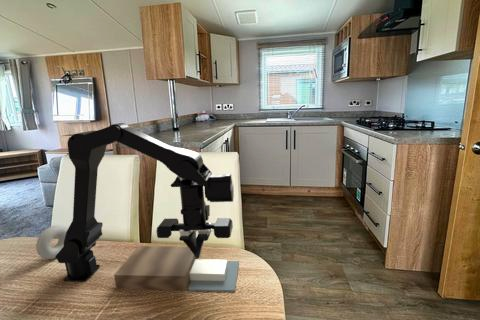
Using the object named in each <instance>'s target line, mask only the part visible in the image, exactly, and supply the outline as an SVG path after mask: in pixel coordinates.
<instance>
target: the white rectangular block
mask: <svg viewBox="0 0 480 320" xmlns="http://www.w3.org/2000/svg"><path fill="white" fill-rule="evenodd" d="M227 261H228V259H210V258H209V259H207V258H203V259H201V258H199V259H195V261H194V263H193V266H192V268H191V271H190V273H189V275H190V281H191V280H203V281H225V277H226V272H227V267H228V262H227Z"/></svg>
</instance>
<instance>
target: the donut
mask: <svg viewBox="0 0 480 320" xmlns="http://www.w3.org/2000/svg"><path fill="white" fill-rule="evenodd" d="M67 230H68V228H67V226H63V225H60V224H59V225H58V224H56V225H51V226H49V227H48V228H46V229H44V230H43V231H42V232H41V234H39V236H38V238H37V240H36V244H35V248H36V249H35V250H36V252H37V254H38V256H40V257H41V258H42V259H46V260H50V259H52V260H53V259H56V257H55V256H56V255H57V254H58V253H59V251H60V250H61V249H62V248H63V247H64V239H65V235H66V232H67ZM55 237H57V238H58V239H57V240H58V241H57V243H56V244H55V245H54V246H51V242H52V240H53V239H55Z"/></svg>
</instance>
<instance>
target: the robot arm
mask: <svg viewBox="0 0 480 320" xmlns="http://www.w3.org/2000/svg"><path fill="white" fill-rule="evenodd" d="M116 142H117V143H119V144H121V145H123V146H126V147H128V148H130V149H133V150H134V151H137V152H139V153H141V154H143V155H145V156H147V157H149V158H152V159H153V160H157V161H158V162H160V163H162V164H163V165H164V166H165V167H166V168H167V169H168V170H169V171H171V172H172V173H173V174H175V175H176V178H175V179H174V181H173V182H171V184H170V187H171V188H179V195H180V201H181V202H180V203H181V209H180V215H182V222H183V223H182V222H179V219H178V218H164V219H163V220H162V221H161V222H160V223H159V225H157V227H156V231H155V232H156V238H158V239H169V238H170V237H172V234H173V233H172V232H179V241H180V242H183V243H184V244H185V245H186V247H189V248H190V250H191V251H192V253H193V254H194V256H195V257H196V258H199V259H200V258H201V253H202V249H203V245H204V242H207V241H208V240H209V239H210V235H211V233H212V232H213V235H214V237H216V238H217V239H229V238H231V236H232V232H233V220H232V219H231V218H229V217H222V218H221V217H218V218H217V219H216V222H213V223H212V222H211V221H210V222H209V218H210V214H211V213H210V204H206V201H208V202H210V203H232V202H234V197H235V195H234V190H235V189H234V183H233V178H232V174H231V173H225V174H213V173H212V171H211V170H210V168H209V167H208V166H206V164H205V163H204V160H203V157H202V155H201V154H200V153H199V152H197V151H196V150H195V151H194V150H191V149H187V148H183V147H178V146H173V145H169V144H167V143H164V142H163V141H160V140H159V139H156V138H154V137H152V136H151V135H148V134H146V133H144V132H141V131H140V130H137V129H135V128H133V127H130V126H129V125H127V123H125V122H124V123H123V122H119V123H118V122H117V123H112V124H110V125H109V126H107V127H105V128H101V129H98V130H89V131H84V132H83V131H82V132H78V133H77V132H76V133H74V134H73V135H70V136H69V138H68V139H67V151H68V153H67V154H68V158H69V160H70V161H71V163H72V165H73V167H74V187H73V207H72V220H71V223H70V225H69V227H68V228H67V229H68V230H67V232H66V235H65V239H64V247H63V248H62V249H61V250H60V251H59V253H58V254H57V255H56V256H55V257H56V258H55V259H56V261H58V263H59V264H64V265H65V270H66V274H67V275H66V276H65V277H63V278H62V279H63V281H64V282H87V281H88V279H90V277H91V276H93V274H95V272H96V271H98V269H99V268H100V267H101V266H100V264H97V259H96V256H95V255H94V254H95V253H94V250H92V248H94V247H95V246H96V245H97V241H99V239H100V238H101V237H102V236H103V232H102V231H103V230H102V228H103V223H104V222H102V221H101V222H100V221H99V222H98V220H97V219H96V217H95V213H96V211H95V210H96V198H97V185H98V183H97V181H98V170H99V169H98V168H99V166H100V164H101V162H102V161H103V158H104V156H105V153H106V149H107V146H108V145H111V144H114V143H116ZM205 199H206V201H205ZM207 221H208V222H207ZM197 233H198V234H197Z"/></svg>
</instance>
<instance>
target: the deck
mask: <svg viewBox="0 0 480 320" xmlns="http://www.w3.org/2000/svg"><path fill="white" fill-rule="evenodd" d="M195 259H200V257H199V258H196V257H195V256H194V254H193V253H192V251H191V250H190V248H189V247H188V246H187V245H186V246H184V245H183V246H177V245H176V246H171V245H170V246H168V245H167V246H164V245H163V246H162V245H161V246H160V245H159V246H158V245H138V246H137V247H136V248H135V249H134V251H133V252H132V253H131V254H130V255H129V256H128V258H127V259H126V260H125V261H124V262H123V264H122V265H121V266H120V267H119V269H117V270H116V272H115V273H114V274H113V278H114V283H115V284H114V285H115V289H116V290H146V291H147V290H148V291H150V290H151V291H152V290H153V291H187V290H188V288H189V286H190V283H191V280H190V275H189V273H190V271H191V268H192V266H193V263H194V261H195Z"/></svg>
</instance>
